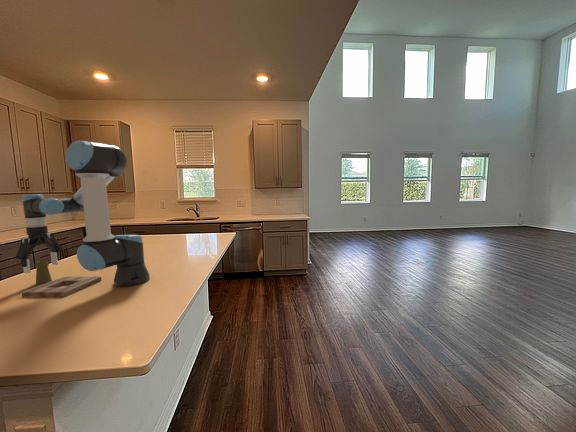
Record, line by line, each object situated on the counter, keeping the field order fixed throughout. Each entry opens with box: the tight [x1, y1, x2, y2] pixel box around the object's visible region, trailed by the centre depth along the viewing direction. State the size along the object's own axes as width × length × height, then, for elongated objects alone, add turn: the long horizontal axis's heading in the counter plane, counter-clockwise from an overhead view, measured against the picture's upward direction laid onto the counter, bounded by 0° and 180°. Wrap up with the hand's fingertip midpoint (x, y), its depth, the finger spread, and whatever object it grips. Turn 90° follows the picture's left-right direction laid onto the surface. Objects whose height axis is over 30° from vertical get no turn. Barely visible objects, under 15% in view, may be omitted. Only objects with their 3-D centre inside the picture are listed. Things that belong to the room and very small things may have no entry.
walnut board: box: [21, 276, 103, 298], centre depth 123 cm, size 20×20×2 cm
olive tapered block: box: [34, 260, 53, 286], centre depth 131 cm, size 6×6×11 cm
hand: (41, 268), depth 131 cm, fingers open, 13 cm apart
